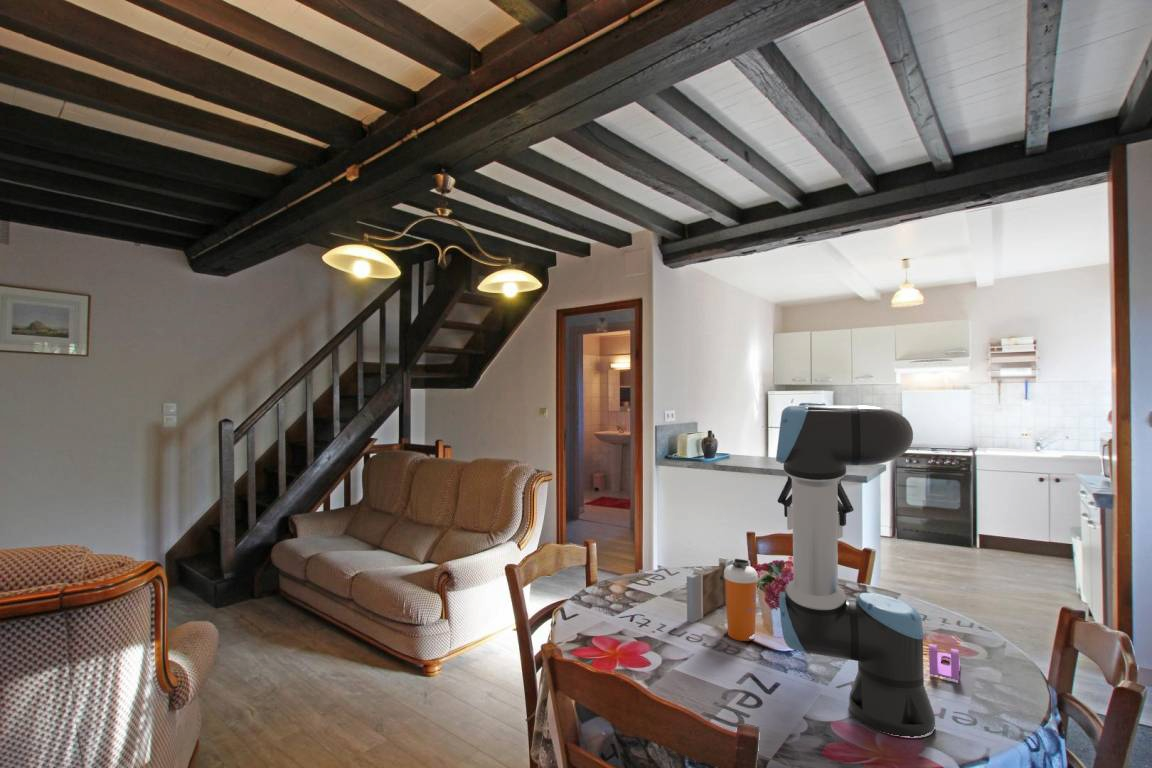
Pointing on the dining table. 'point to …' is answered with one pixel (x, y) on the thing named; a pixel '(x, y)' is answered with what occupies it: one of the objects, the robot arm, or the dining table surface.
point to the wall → (699, 592)
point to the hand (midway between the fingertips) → (814, 533)
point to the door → (713, 589)
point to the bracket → (939, 668)
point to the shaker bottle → (741, 599)
